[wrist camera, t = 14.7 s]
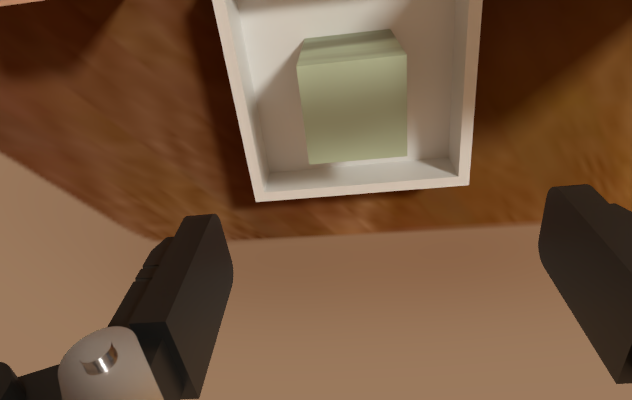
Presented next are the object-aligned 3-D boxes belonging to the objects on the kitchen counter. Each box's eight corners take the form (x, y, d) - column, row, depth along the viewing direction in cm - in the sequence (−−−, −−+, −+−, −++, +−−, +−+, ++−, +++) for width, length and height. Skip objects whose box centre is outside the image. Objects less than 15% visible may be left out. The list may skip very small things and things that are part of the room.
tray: (220, -36, 22) (205, -33, 19) (468, -69, 21) (487, -70, 18) (263, 177, 28) (255, 202, 25) (455, 160, 27) (468, 185, 24)
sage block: (304, 38, 23) (296, 66, 18) (390, 28, 22) (406, 54, 17) (314, 118, 25) (309, 164, 20) (392, 111, 25) (407, 156, 20)
